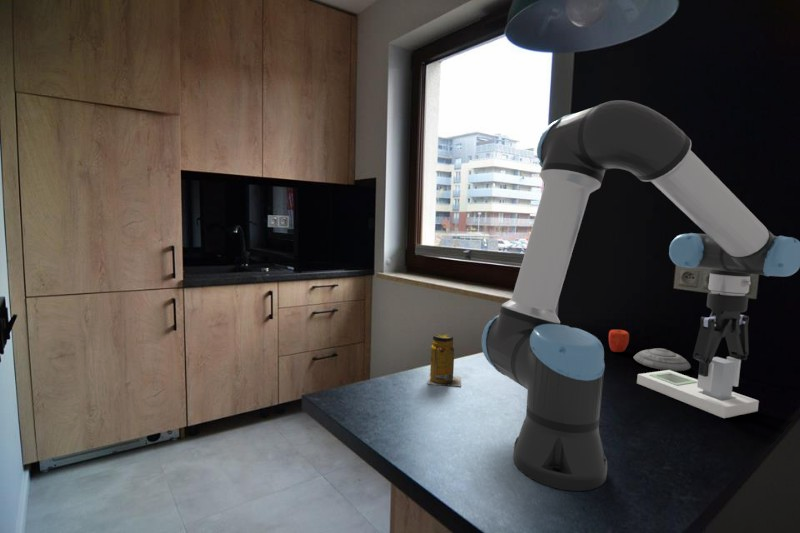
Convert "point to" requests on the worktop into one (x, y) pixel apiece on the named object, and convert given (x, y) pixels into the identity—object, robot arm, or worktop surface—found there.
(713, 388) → the plug
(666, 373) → the panel
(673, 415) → the worktop surface
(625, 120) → the robot arm
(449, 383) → the condiment
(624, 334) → the apple
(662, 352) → the flying saucer
